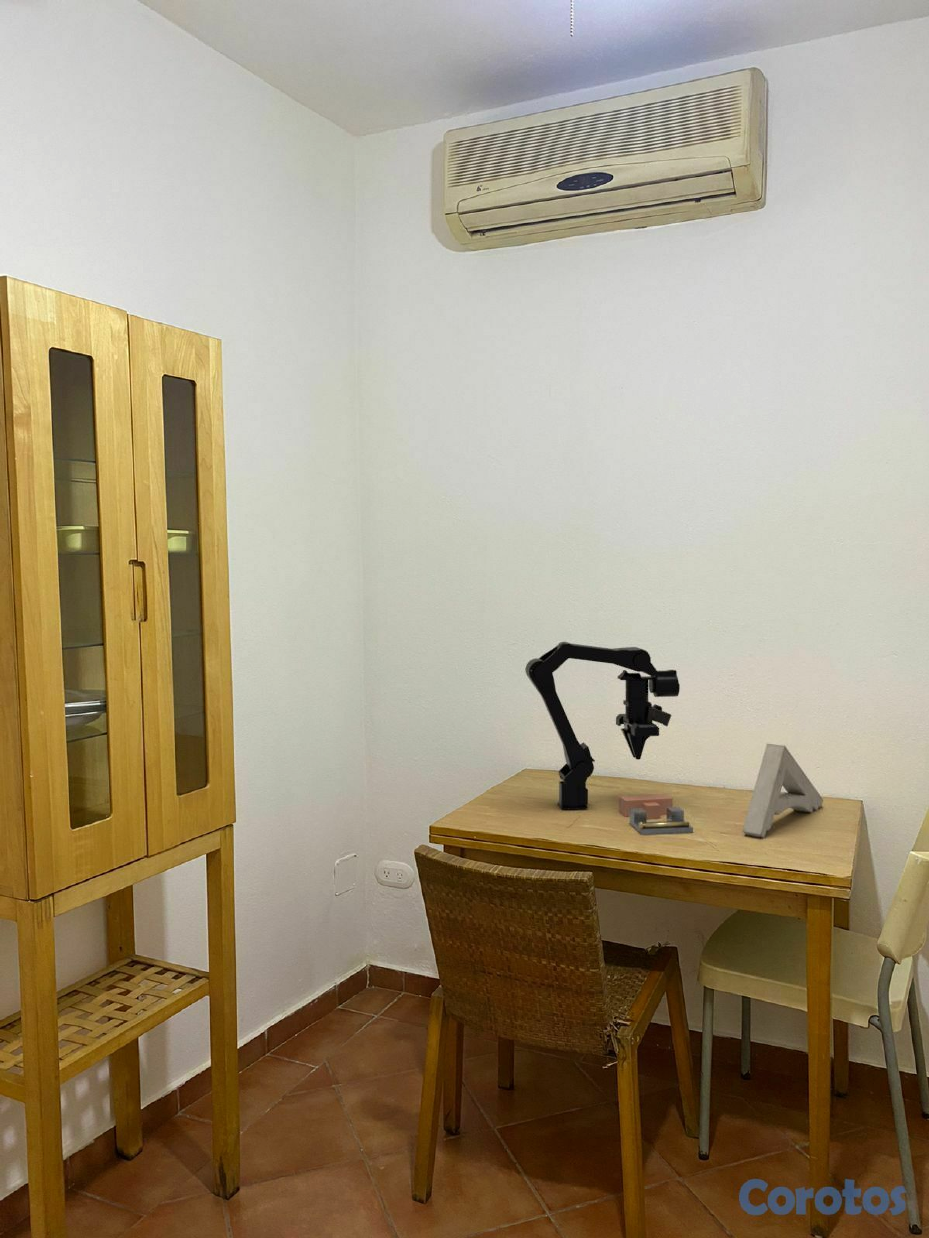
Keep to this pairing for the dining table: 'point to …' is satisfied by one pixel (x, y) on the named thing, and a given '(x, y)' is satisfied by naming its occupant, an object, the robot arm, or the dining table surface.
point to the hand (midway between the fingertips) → (636, 758)
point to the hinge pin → (662, 824)
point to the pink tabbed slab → (646, 804)
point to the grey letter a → (778, 791)
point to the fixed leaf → (672, 816)
